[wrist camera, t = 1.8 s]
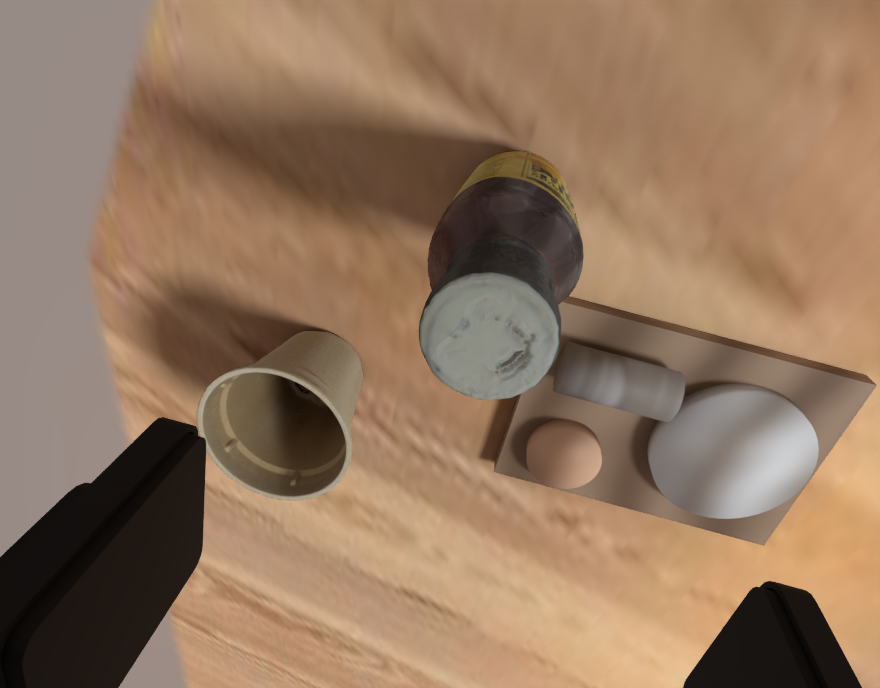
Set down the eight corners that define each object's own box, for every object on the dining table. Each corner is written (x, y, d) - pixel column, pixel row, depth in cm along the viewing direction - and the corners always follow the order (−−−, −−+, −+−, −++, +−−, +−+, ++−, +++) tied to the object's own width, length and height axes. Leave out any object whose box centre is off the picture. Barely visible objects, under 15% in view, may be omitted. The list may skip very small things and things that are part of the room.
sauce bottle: (579, 237, 34) (629, 431, 17) (478, 263, 36) (427, 465, 18) (554, 125, 31) (583, 215, 14) (447, 159, 33) (352, 277, 16)
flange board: (866, 375, 35) (907, 415, 31) (757, 533, 42) (781, 582, 38) (553, 292, 36) (556, 321, 32) (494, 461, 42) (491, 502, 38)
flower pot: (247, 394, 43) (186, 468, 35) (272, 286, 38) (208, 343, 31) (364, 439, 43) (328, 521, 36) (402, 336, 39) (370, 406, 31)
